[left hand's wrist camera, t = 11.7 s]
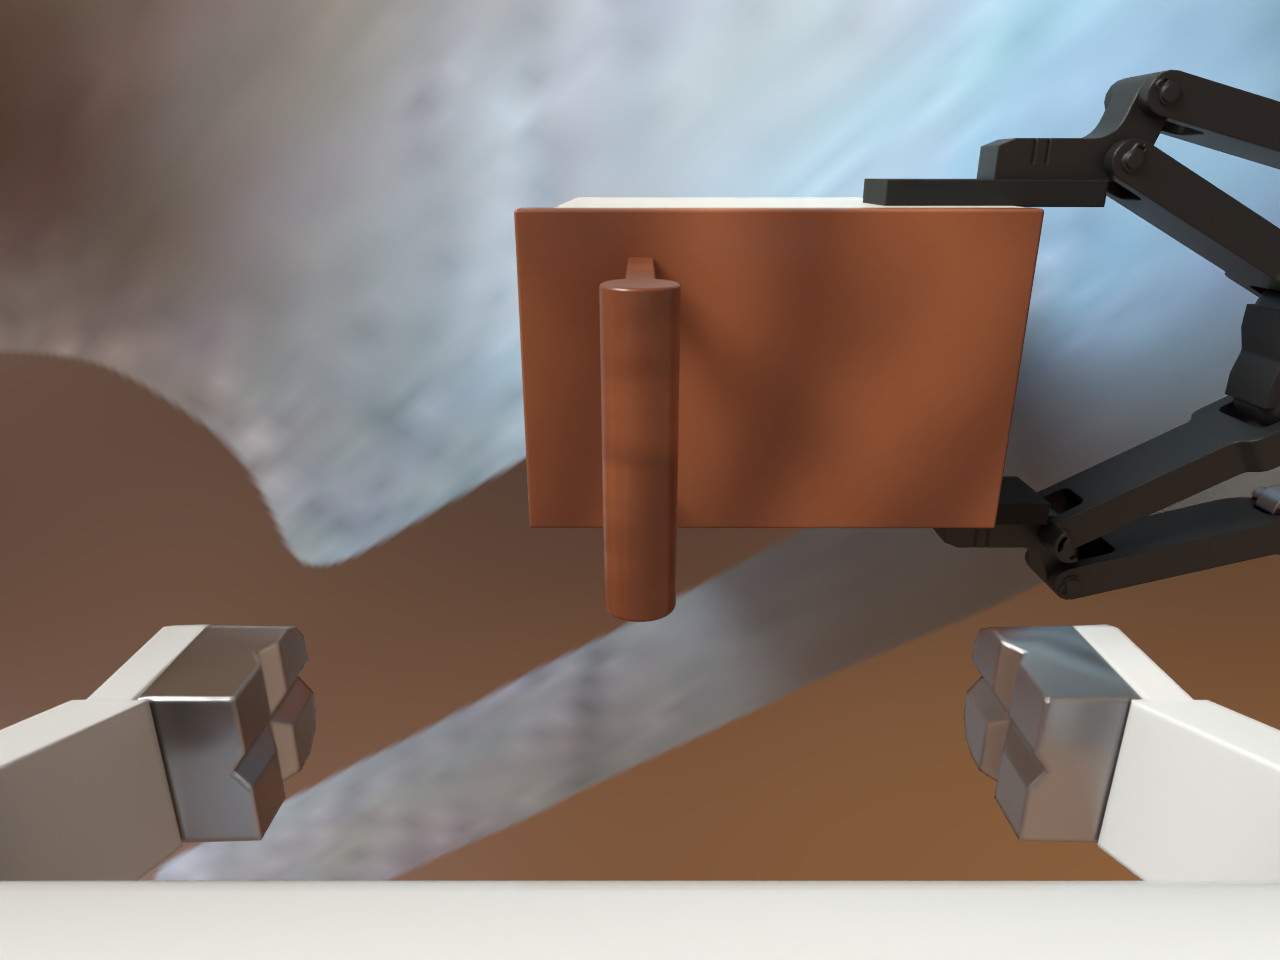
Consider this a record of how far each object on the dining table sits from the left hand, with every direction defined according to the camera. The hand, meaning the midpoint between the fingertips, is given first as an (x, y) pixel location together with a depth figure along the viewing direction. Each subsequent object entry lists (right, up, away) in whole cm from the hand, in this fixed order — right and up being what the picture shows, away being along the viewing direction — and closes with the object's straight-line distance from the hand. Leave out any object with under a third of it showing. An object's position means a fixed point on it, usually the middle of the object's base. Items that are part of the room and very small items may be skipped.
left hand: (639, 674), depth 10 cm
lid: (+4, +6, +16) cm, 17 cm away
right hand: (+7, +6, +18) cm, 20 cm away
